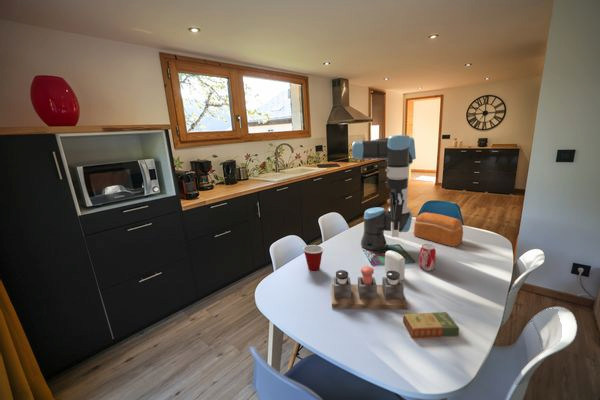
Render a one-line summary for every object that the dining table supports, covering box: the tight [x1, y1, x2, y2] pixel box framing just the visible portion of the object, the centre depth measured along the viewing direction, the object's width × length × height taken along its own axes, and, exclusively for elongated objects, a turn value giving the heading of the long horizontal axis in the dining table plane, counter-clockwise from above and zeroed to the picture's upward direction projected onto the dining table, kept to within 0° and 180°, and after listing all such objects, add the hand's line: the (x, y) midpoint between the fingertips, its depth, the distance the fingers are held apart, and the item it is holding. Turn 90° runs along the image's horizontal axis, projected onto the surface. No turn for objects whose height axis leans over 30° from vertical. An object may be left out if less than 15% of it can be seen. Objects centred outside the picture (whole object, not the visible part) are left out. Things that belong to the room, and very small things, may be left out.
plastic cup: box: [302, 244, 325, 273], centre depth 138 cm, size 11×11×12 cm
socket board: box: [331, 276, 409, 311], centre depth 112 cm, size 30×14×8 cm, turn 84°
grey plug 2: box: [385, 271, 400, 285], centre depth 110 cm, size 5×5×9 cm
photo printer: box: [384, 250, 406, 281], centre depth 127 cm, size 10×4×12 cm, turn 26°
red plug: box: [360, 265, 375, 285], centre depth 111 cm, size 5×5×9 cm
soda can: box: [418, 243, 437, 272], centre depth 132 cm, size 7×7×12 cm
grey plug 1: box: [335, 269, 349, 285], centre depth 113 cm, size 5×5×9 cm
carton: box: [402, 311, 460, 340], centre depth 94 cm, size 8×16×4 cm, turn 91°
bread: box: [413, 211, 464, 248], centre depth 165 cm, size 14×26×16 cm, turn 38°
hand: (394, 236), depth 105 cm, fingers closed
